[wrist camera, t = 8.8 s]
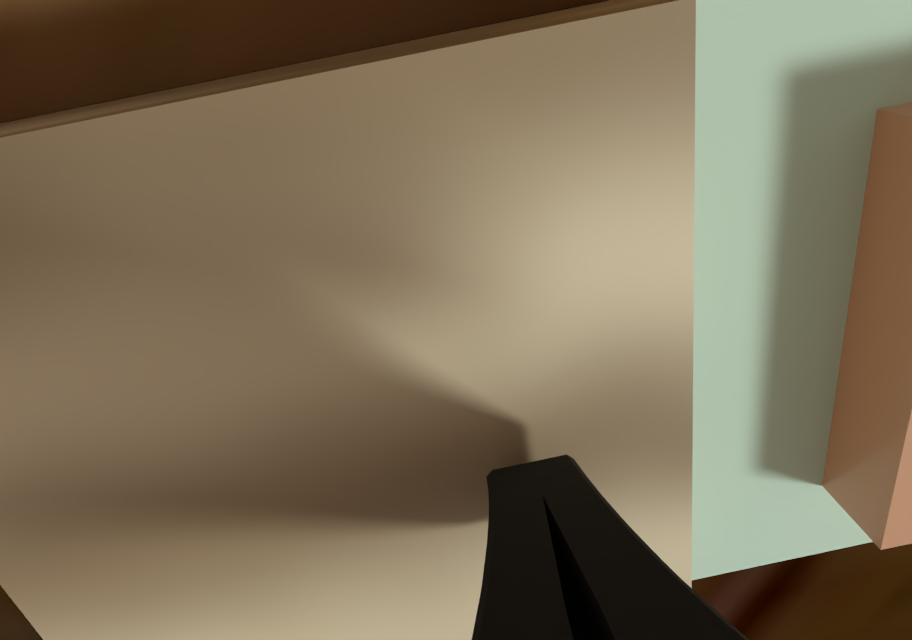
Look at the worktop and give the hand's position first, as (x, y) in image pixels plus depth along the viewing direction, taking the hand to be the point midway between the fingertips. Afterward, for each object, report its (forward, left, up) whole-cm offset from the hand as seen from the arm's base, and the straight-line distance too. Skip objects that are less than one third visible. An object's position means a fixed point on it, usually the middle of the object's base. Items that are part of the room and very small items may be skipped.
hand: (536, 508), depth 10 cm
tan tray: (0, +3, -4) cm, 5 cm away
